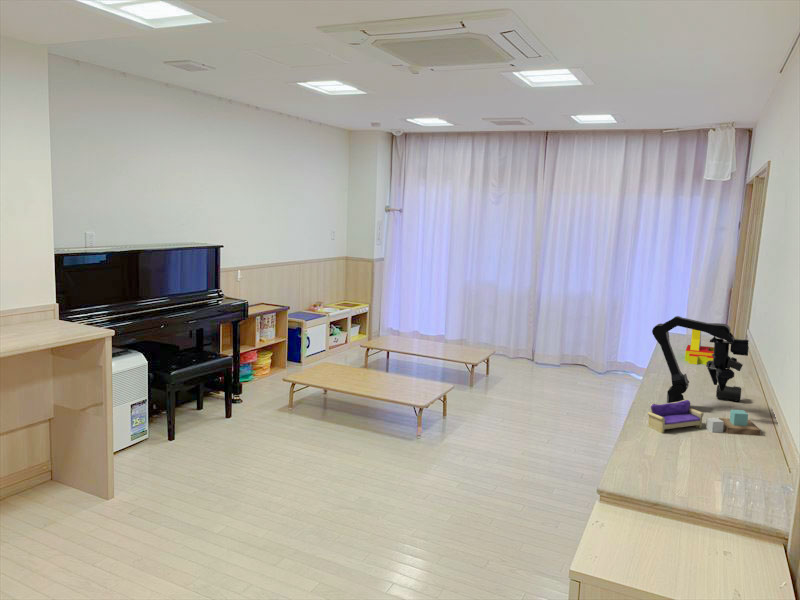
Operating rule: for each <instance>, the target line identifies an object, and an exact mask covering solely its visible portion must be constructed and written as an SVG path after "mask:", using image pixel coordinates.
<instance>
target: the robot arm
mask: <svg viewBox="0 0 800 600" xmlns="http://www.w3.org/2000/svg"><path fill="white" fill-rule="evenodd" d="M676 327H682V328H686V329H690V330H692V329H694V330H698V331H701V332H703V333H707V334H709V335H710V336H712V338H711V339H709V343H714V344H713V347H714V354H712V356H713V361H708V362H707V363H706V364H705V366H706V368H707V371H708V373H709V375H710V378H711V381H712V383H713V385H714V386H718V385H719V388H720V391H723V390H724V388H725V386H726V385H727V383H728V381H729V380H730V379H733V378H735V372H734V371H733V369H734V370H736V371H737V372H740V371H741V370H742V367H743V364H742V363H741V362H739V361H738V360H737V358H736V357H733V356H732V357H731V356H730V355H729V353H732V355H737V356H738V355H739V356H743V357H744V356H745V357H748V356H749V352H750V351H749V349H750V346H749V339H739V338H736V337H735V336H734V335H733V334H732V332H731V330H732V329H731V327H730V326H729V325H728V324H727V323H721V322H720V323H719V322H718V323H716V322H715V323H713V322H712V323H711V322H705V321H699V320H696V319H690V318H687V317H682V316H679V315H676V316H674V317H673V318H671V319H670V320H667V321H666V322H664V323H658V324H656V325H654V326H653V327H652V330H651V333H652V335H653V337H654V339H655V340H656V342H657V343H658V345H660V349H661V351H662V354H663V356H664V359H665V361H666V364H667V367H668V369H669V372H670V376H671V385H670V387H669V388H668V390H667V393H666V403H673V402H679V401H682V400H685V399H686V398H684V395H683V394H684V393H686V391H687V390H688V388H689V386H690V385H689V384H690V381H689V379H688V376H687V373H683V372H682V371H681V368H680V366H679V364H678V361H677V358H676V355H675V353H674V351H673V348H672V346H671V342H670V334H669V333H670V332H669V331H671V330H673V329H674V328H676ZM729 350H730V351H729Z"/></svg>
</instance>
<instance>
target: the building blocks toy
mask: <svg viewBox="0 0 800 600" xmlns="http://www.w3.org/2000/svg"><path fill="white" fill-rule="evenodd" d="M701 336H702V331H698V330H694V329H691V340H690V344H687V346H686V349H685V351H684V353H685V354H684V362H688V363H687V364H689V365H706V363H707V362H708V361H713V356H712V354H714V346H713V347H712V346H704V345H703V346H702V345H701V340H702V339H701Z"/></svg>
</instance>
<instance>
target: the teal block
mask: <svg viewBox="0 0 800 600" xmlns="http://www.w3.org/2000/svg"><path fill="white" fill-rule="evenodd" d="M729 419H730V422H731V423H732V424H733V425H736V426H747V423H748V420H749V414H748V413H747V412H746V411H745V410H744V409H742V410H741V409H730V412H729Z"/></svg>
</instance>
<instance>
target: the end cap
mask: <svg viewBox="0 0 800 600" xmlns="http://www.w3.org/2000/svg"><path fill="white" fill-rule="evenodd" d="M715 395H716V399H718V400H723V401H730V402H736V403H737V402H738V403H740V402H741V400H742V399H741V397H742V388H741V387H740V386H736V385H734V386H728V385H727V384H726V386H725V388H724V390H723V391H720V388H719V385H718V384H717V385H716V394H715Z"/></svg>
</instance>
